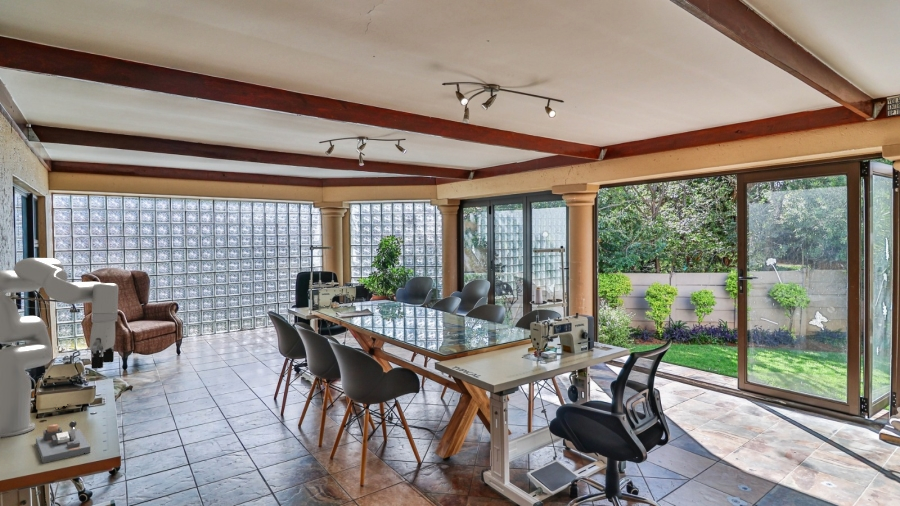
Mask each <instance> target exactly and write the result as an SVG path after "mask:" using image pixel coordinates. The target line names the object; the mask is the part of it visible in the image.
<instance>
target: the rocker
mask: <svg viewBox="0 0 900 506" xmlns="http://www.w3.org/2000/svg"><path fill="white" fill-rule="evenodd" d="M68 431H69V430H68ZM68 431H62V433H57V434H56V438H57V442H58V443H63V442H68V441H69V439H70V438H69V434H68Z"/></svg>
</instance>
